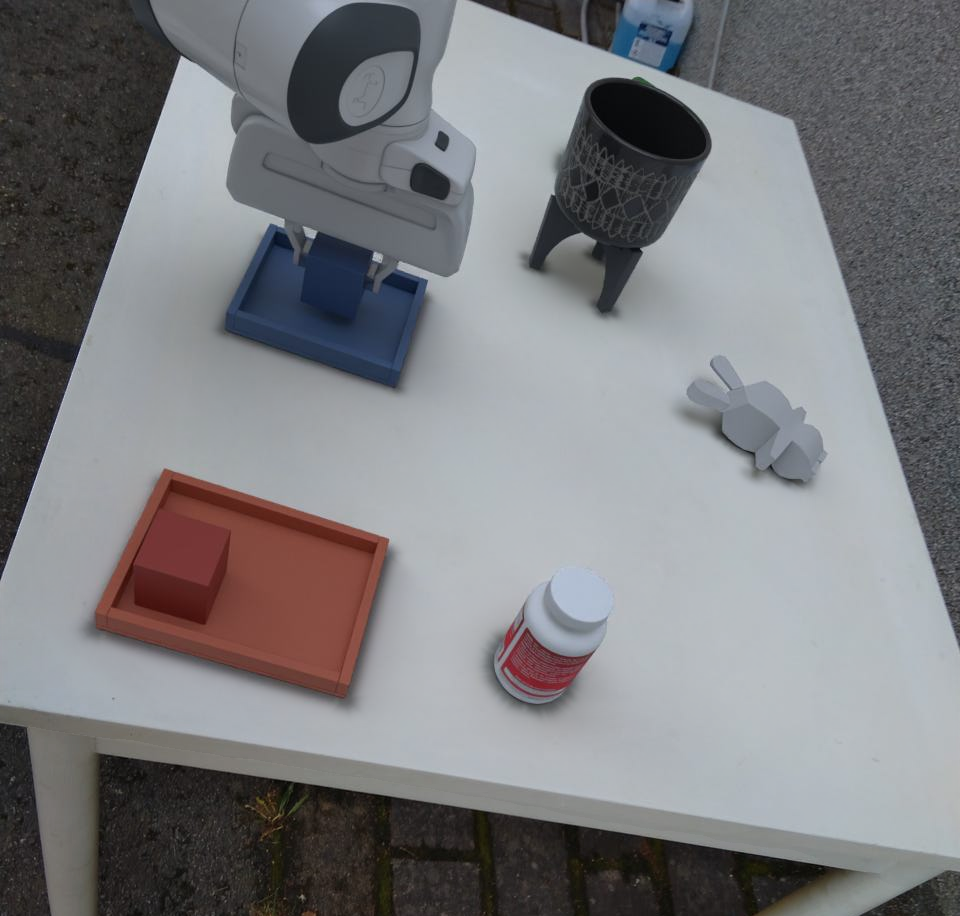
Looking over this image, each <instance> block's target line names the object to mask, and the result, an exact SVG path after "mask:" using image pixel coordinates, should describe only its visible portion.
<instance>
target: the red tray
mask: <svg viewBox="0 0 960 916" xmlns="http://www.w3.org/2000/svg"><path fill="white" fill-rule="evenodd" d="M159 509H163V510H166V511H169V512H173V513H176V514H179V515H182V516H186V517H189V518H192V519H196V520H199V521H202V522H205V523H209V524H212V525H215V526H218V527H222V528H225V529H228V530H231V536H230V545H229V554H228V563H227V571H226V574H225V576H224V579H223V581H222V584H221V587H220V589H219V592H218V594H217V597H216V599H215V602H214V604H213V607H212V609H211V612H210V614H209V617H208V619H207V622H206V624H205V625H203V624H200V623H197V622H193V621H190V620H186V619H183V618H179V617H176V616H172V615H169V614H165V613H162V612H159V611H155V610H152V609H148V608H145V607H141V606H138V605H135V598H134V565H133V564H134V562H135V559H136V557H137V555H138V553H139V551H140V549H141V547H142V544H143V542H144V540H145V538H146V536H147V534H148V532H149V530H150V527H151V525H152V523H153V521H154V519H155V517H156V515H157V513H158V510H159ZM389 542H390V538H388V537H385V536H381V535H379V534H375V533H373V532H370V531H366V530H364V529H360V528H357V527H355V526H351V525H347V524H344V523H341V522H338V521H334V520H332V519H328V518H326V517H325V518H324V517H321V516H319V515H315V514H312V513H309V512H305V511H303V510H299V509H296V508H292V507H289V506H286V505H283V504H280V503H277V502H274V501H270V500H267V499H264V498H261V497H258V496H255V495H252V494H249V493H245V492H243V491H238V490H235V489H232V488H230V487H226V486H223V485H219V484H216V483H213V482H210V481H207V480H203V479H200V478H197V477H194V476H191V475H188V474H185V473H182V472H177V471H175V470H173V469H172V470H171V469H168V468H163V470H162V472H161V473H160V476H159V478H158V480H157V482H156V484H155V486H154V488H153V491H152V492H151V494H150V497H149V499H148V501H147V503H146V505H145V507H144V509H143V511H142V513H141V515H140V517H139V519H138V521H137V524H136V525H135V527H134V530H133V532H132V534H131V536H130V538H129V540H128V542H127V543H126V547H125V548H124V551H123V552H122V555H121V557H120V559H119V561H118V563H117V565H116V567H115V569H114V571H113V573H112V575H111V577H110V580H109V581H108V584H107V585H106V588H105V590H104V592H103V595H102V596H101V598H100V600H99V602H98V605H97V606H96V609H95V611H94V620H95V628H96V629H100V630H102V631H106V632H110V633H114V634H116V635H120V636H124V637H127V638H131V639H134V640H139V641H142V642H145V643H149V644H151V645H156V646H159V647H163V648H167V649H170V650H174V651H177V652H181V653H184V654H187V655H191V656H195V657H197V658H201V659H205V660H208V661H212V662H216V663H219V664H222V665H225V666H226V665H227V666H230V667H233V668H237V669H240V670H244V671H247V672H251V673H253V674H258V675H261V676H265V677H268V678H272V679H275V680H280V681H283V682H286V683H290V684H293V685H297V686H300V687H304V688H308V689H311V690H315V691H318V692H321V693H325V694H329V695H332V696H336V697H339V698H343V699H345V698H346V696H347V693H348V690H349V687H350V685H351V681H352V678H353V674H354V671H355V667H356V663H357V659H358V656H359V653H360V648H361V645H362V641H363V637H364V634H365V630H366V627H367V623H368V620H369V616H370V612H371V608H372V605H373V601H374V597H375V594H376V590H377V586H378V583H379V580H380V576H381V573H382V569H383V565H384V562H385V557H386V554H387V550H388V547H389Z"/></svg>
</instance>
